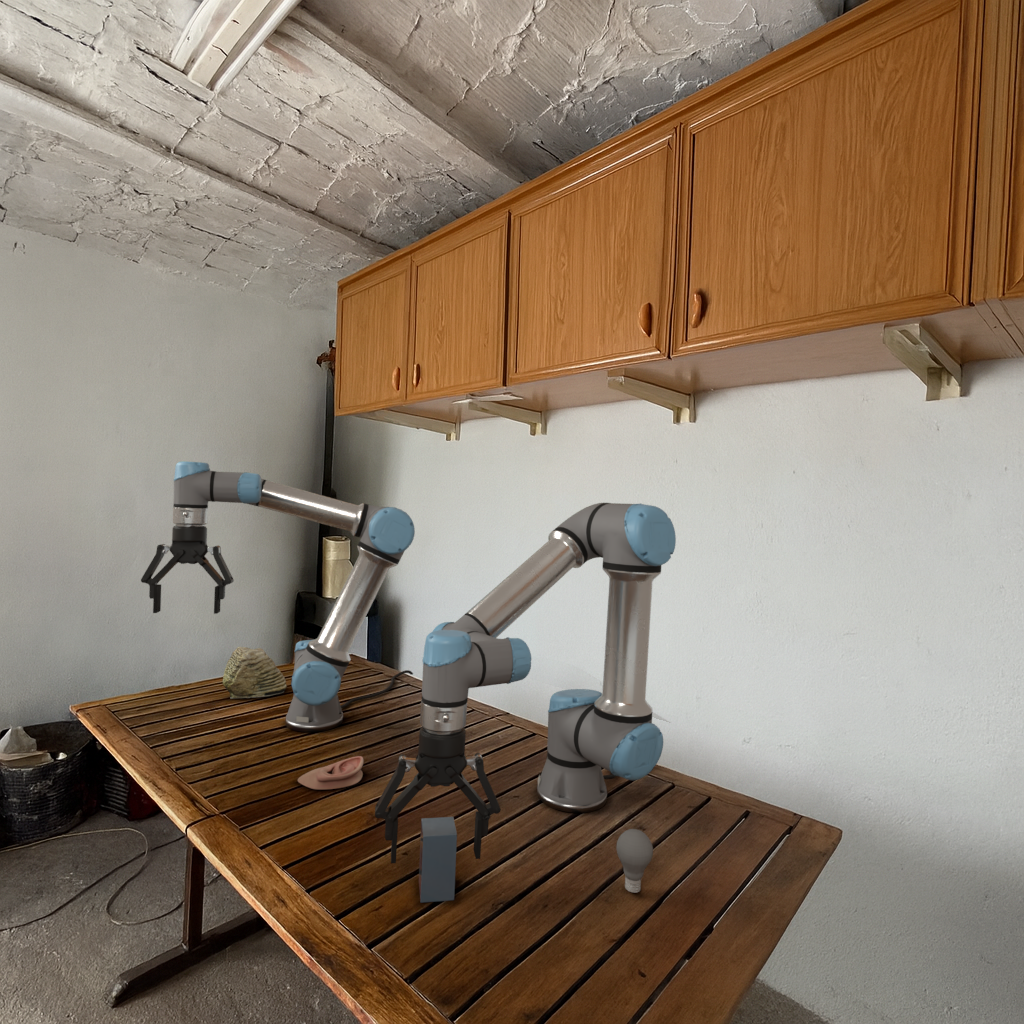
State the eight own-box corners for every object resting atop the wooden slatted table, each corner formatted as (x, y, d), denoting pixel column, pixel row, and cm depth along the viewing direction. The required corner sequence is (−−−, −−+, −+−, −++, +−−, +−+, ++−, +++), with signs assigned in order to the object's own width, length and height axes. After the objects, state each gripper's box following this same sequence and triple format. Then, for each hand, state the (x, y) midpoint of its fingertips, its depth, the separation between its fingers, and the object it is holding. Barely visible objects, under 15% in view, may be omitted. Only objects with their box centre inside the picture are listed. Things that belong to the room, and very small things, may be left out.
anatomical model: (290, 768, 137) (317, 748, 149) (290, 786, 138) (316, 764, 149) (347, 776, 135) (370, 755, 146) (346, 794, 135) (369, 772, 146)
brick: (418, 881, 106) (421, 818, 106) (450, 878, 107) (453, 816, 107) (420, 902, 100) (423, 836, 100) (454, 900, 101) (457, 834, 101)
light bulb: (610, 879, 108) (613, 822, 108) (644, 879, 109) (647, 822, 109) (619, 902, 102) (622, 840, 102) (655, 901, 103) (658, 840, 103)
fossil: (218, 695, 195) (220, 647, 195) (278, 685, 208) (279, 640, 207) (228, 703, 189) (230, 653, 188) (289, 692, 201) (290, 645, 201)
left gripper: (127, 524, 148) (124, 614, 148) (241, 527, 152) (237, 615, 153) (139, 522, 155) (137, 609, 155) (247, 526, 160) (244, 610, 160)
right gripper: (363, 736, 97) (356, 874, 97) (522, 734, 102) (514, 865, 102) (365, 719, 104) (358, 847, 105) (513, 718, 109) (506, 840, 109)
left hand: (187, 612), depth 154 cm, fingers open, 13 cm apart
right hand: (435, 856), depth 103 cm, fingers open, 13 cm apart
